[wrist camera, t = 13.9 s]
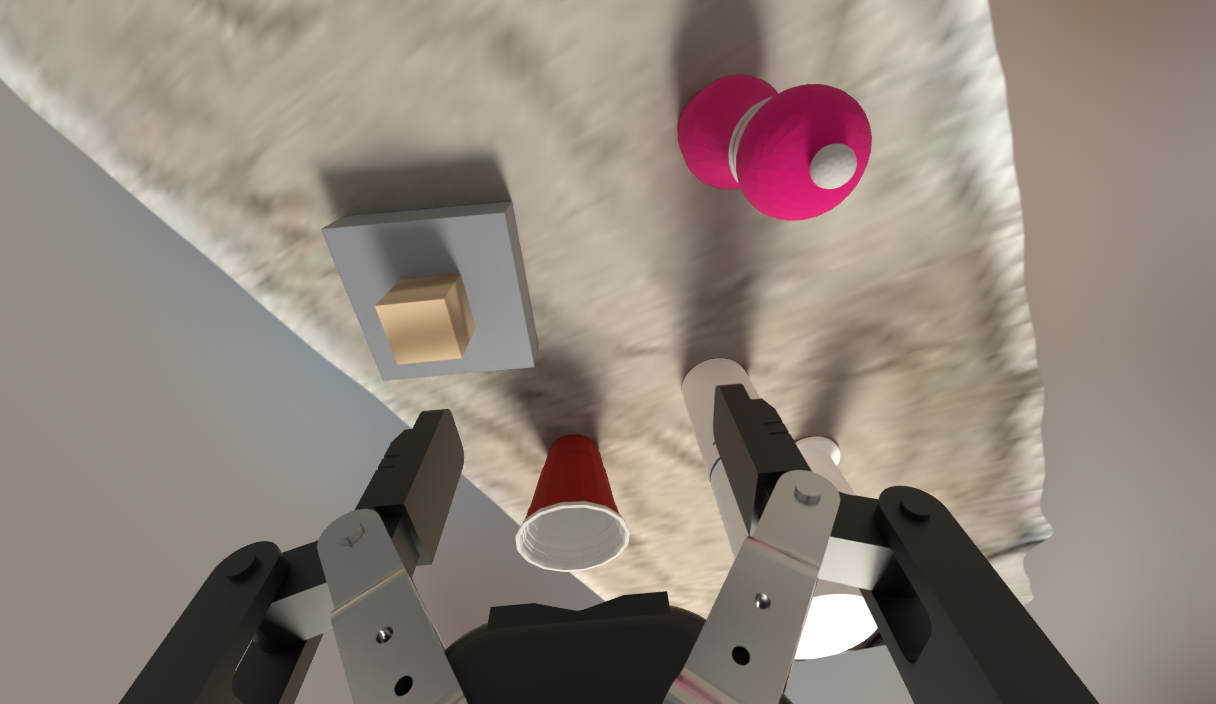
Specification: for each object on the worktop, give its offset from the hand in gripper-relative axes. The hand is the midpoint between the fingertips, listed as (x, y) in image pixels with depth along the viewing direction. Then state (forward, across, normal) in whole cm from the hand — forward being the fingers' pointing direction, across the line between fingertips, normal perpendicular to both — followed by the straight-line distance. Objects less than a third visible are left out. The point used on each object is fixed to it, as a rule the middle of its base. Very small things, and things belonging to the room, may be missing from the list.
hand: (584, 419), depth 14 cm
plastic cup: (+28, +4, +28) cm, 40 cm away
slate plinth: (+28, +13, +6) cm, 32 cm away
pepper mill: (+28, -11, -5) cm, 31 cm away
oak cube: (+24, +13, +6) cm, 28 cm away
